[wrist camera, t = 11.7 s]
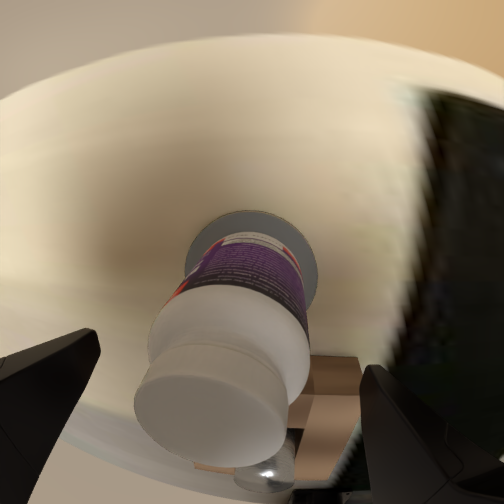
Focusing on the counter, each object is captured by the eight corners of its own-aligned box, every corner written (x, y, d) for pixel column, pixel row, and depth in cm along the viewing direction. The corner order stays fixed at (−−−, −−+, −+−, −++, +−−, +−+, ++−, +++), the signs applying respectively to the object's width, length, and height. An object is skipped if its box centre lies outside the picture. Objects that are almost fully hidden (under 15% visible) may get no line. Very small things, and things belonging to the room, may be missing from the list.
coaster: (307, 335, 17) (307, 341, 16) (189, 322, 18) (186, 327, 17) (324, 216, 15) (325, 219, 14) (188, 206, 15) (184, 208, 15)
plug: (291, 426, 19) (289, 494, 13) (245, 422, 19) (233, 489, 14) (298, 396, 18) (299, 470, 12) (247, 392, 18) (234, 465, 13)
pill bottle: (200, 224, 15) (88, 325, 6) (308, 235, 15) (341, 364, 5) (199, 318, 17) (130, 457, 7) (294, 329, 16) (295, 486, 7)
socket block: (324, 446, 20) (326, 480, 17) (204, 436, 21) (194, 468, 18) (357, 357, 17) (368, 395, 14) (198, 343, 18) (182, 379, 15)
